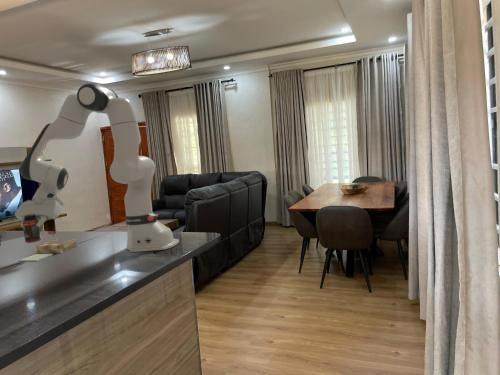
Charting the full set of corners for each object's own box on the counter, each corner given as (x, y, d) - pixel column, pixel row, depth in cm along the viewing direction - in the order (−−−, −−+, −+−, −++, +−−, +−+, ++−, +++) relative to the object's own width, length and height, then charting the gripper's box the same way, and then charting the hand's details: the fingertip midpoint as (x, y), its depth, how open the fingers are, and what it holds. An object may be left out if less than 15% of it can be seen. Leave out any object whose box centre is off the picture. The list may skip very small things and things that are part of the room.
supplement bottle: (44, 239, 166) (40, 213, 165) (35, 242, 160) (31, 216, 159) (31, 239, 166) (27, 214, 165) (22, 243, 161) (18, 216, 159)
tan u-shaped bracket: (76, 246, 179) (75, 238, 179) (60, 252, 169) (59, 245, 169) (54, 246, 182) (53, 239, 182) (37, 253, 172) (36, 245, 172)
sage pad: (52, 254, 167) (52, 253, 167) (36, 261, 158) (36, 260, 158) (35, 255, 169) (35, 253, 169) (19, 261, 161) (18, 260, 161)
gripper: (20, 196, 170) (4, 223, 162) (59, 194, 165) (45, 221, 157) (29, 204, 175) (15, 230, 167) (67, 202, 170) (54, 229, 162)
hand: (30, 226), depth 162 cm, fingers closed on supplement bottle, 6 cm apart
